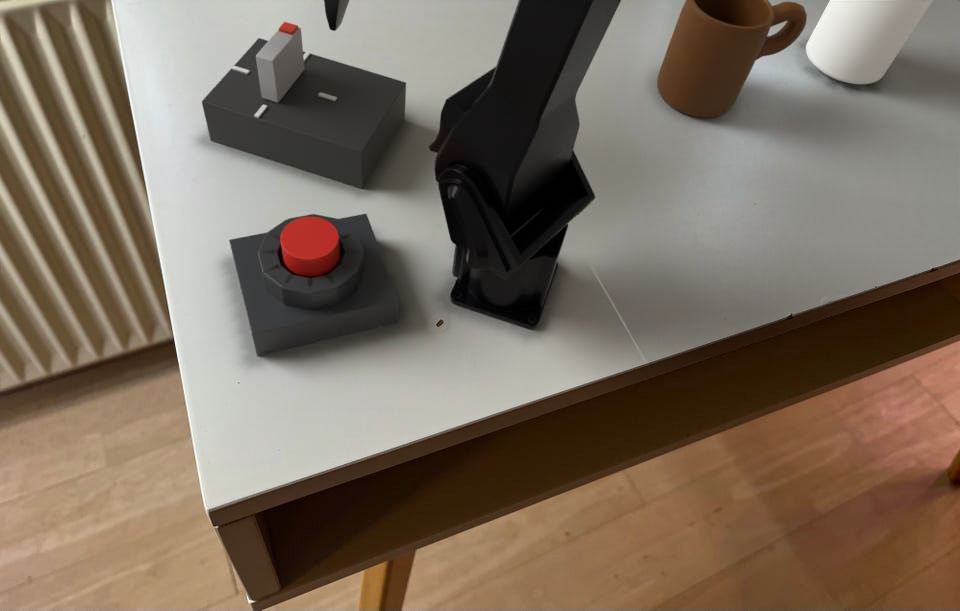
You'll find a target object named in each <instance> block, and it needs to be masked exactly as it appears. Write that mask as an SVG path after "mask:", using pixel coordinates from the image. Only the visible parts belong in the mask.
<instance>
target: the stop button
mask: <svg viewBox="0 0 960 611" xmlns="http://www.w3.org/2000/svg"><path fill="white" fill-rule="evenodd" d="M280 241H281V247H282V254H283V260H284V263H285V265H286V266H287V267H288V268H289V269H290V270H291V271H292V272H294V273H296V274H298V275H301V276H306V277H315V276H320V275H323V274H326V273H328V272H329V271H331V270H332V269H333V268H334V267H335V266H336V265H337V263H338V261H339V258H340V249H339V235H338V231H337V229H336V228H335V227H334V225H333V224H331V223H330V222H329V221H327V220H325V219H322V218H319V217H303V218H299V219H296V220H294V221H292V222H290V223H289V224H288V225H287V226H286V227H285V228H284V229H283V231H282V233H281V238H280Z"/></svg>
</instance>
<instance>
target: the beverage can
mask: <svg viewBox="0 0 960 611" xmlns="http://www.w3.org/2000/svg"><path fill="white" fill-rule="evenodd" d="M933 1H934V0H829V1H828V4H827V5H826V7H825V9H824V10H823V13H822V15H821V16H820V18H819V20H818V22H817V24H816V26H815V27H814V29H813V30H812V33H811V35H810V37H809V39H808V41H807V43H806V44H805V53H806V56H807V58H808V59H809V61H810V62H811V64H812V65H813V66H814V67H815V68H817V69H818V70H819V71H820V72H822V74H824V75H826V76H828V77H830V78H831V79H834V80H836V81H839V82H843V83H847V84H853V85H868V84H874V83H876V82H878V81H879V80H881V79H882V78H883V77H884V76H885V74H886V73H887V71H888V69H889V68H890V66H891V65H892V64H893V62H894V60H895V59H896V58H897V56H898V54H899V53H900V51H901V49H902V48H903V47H904V46H905V44H906V42H907V41H908V39H909V37H910V36H911V34H912V33H913V32H914V30H915V29H916V27H917V26H918V24H919V22H920V21H921V20H922V18H923V17H924V15H925V13H926V12H927V10H928V9H929V8H930V6H931V4H932V3H933Z"/></svg>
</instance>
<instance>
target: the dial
mask: <svg viewBox="0 0 960 611" xmlns="http://www.w3.org/2000/svg"><path fill="white" fill-rule="evenodd" d="M267 41H268V42H267V43H266V44H265V46H264V47H263V48H262V49H261V50H260V51H259V52H258V54H257V55H256V61H257V68H258V75H259V81H260V88H261V95H262V98H264V99H268V100H271V101H274V102H277V103H278V102H279V101H280V100H281V99H282V97H283V96H284V95H285V94H286V92H287V91H288V90H289V89H290V87H291V86H292V85H293V83H294V82H295V81H296V80H297V78H298V77H299V76H300V75H301V73H302V72H303V71H304V69H305V68H304V57H303V51H304V50H303V48H304V47H303V34H302V28H301V27H300V26H299V25H298V24H294V23H291V22H288V21H284V22H282V24H281V25H280V26H279V27H278V29H277V31H275V33H274V34H273V35H272V36H271V37H270V39H268V40H267Z"/></svg>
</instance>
